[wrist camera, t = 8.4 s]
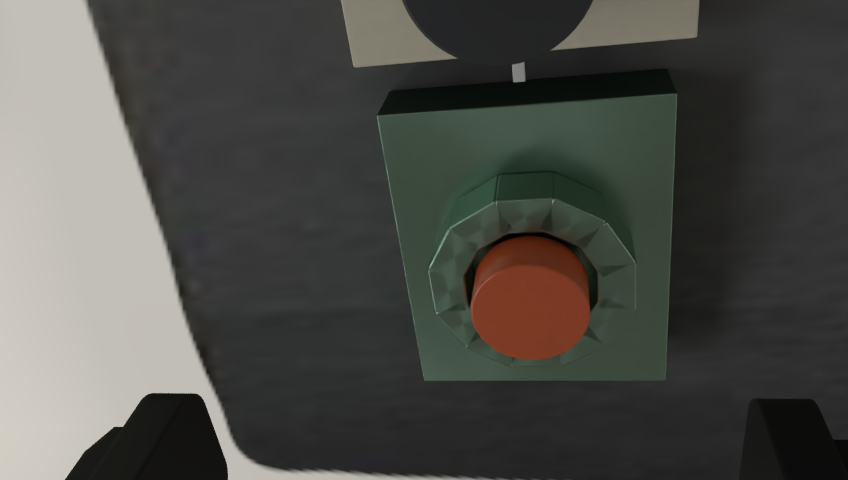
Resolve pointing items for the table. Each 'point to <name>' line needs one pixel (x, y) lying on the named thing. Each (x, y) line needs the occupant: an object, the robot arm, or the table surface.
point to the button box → (537, 212)
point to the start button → (530, 298)
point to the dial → (497, 27)
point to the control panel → (602, 25)
